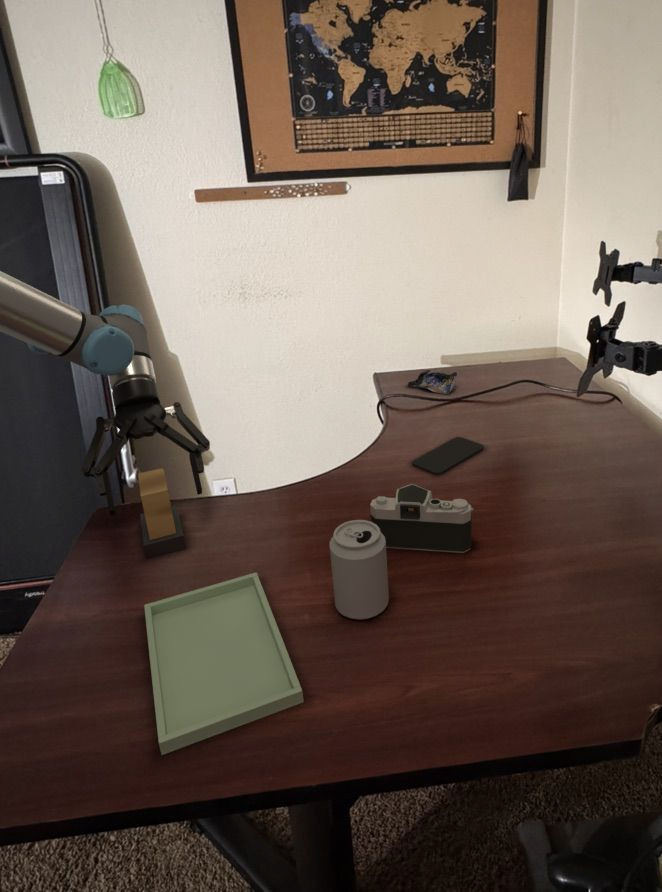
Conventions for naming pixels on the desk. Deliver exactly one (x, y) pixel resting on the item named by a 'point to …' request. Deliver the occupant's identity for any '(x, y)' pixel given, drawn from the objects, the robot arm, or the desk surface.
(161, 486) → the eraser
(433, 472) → the phone
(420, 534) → the camera
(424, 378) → the snack package
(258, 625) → the tray
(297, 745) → the desk surface
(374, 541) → the can
